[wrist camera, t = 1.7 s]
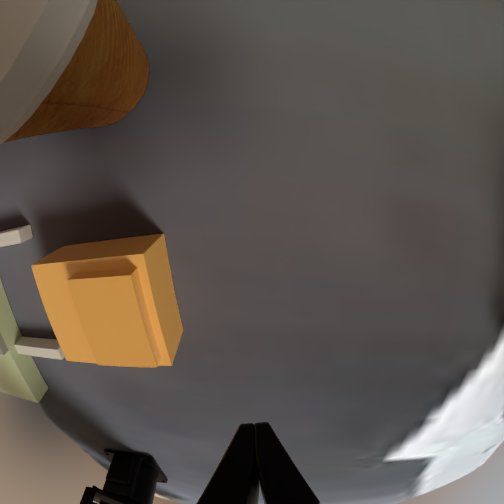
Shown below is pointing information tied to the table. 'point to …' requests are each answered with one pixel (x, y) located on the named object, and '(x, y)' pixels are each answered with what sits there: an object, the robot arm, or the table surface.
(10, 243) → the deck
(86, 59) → the disposable coffee cup
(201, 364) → the table surface
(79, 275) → the orange block with panel
